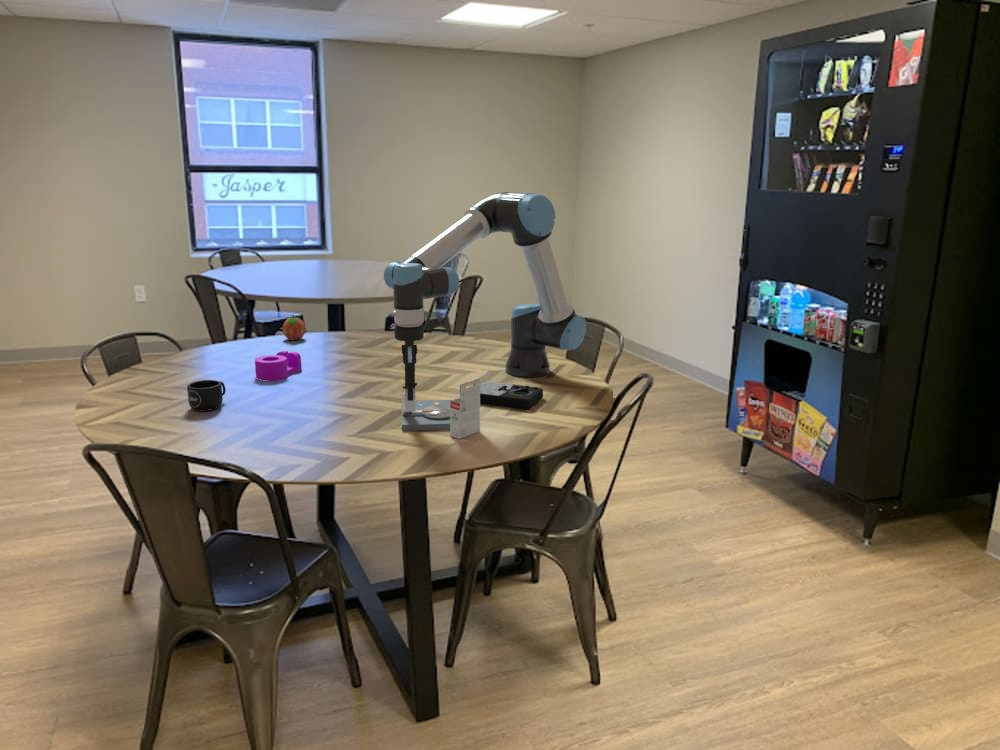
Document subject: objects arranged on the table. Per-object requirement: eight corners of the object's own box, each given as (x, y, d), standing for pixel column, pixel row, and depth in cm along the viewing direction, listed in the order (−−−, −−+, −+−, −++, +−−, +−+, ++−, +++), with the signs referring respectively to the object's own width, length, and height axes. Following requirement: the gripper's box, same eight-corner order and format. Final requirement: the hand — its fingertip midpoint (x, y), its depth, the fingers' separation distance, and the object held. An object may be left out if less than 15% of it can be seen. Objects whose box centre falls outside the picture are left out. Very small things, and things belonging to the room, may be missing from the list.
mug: (206, 415, 208) (204, 390, 206) (182, 410, 212) (179, 385, 210) (237, 403, 219) (235, 379, 217) (214, 399, 222) (212, 375, 220)
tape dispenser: (276, 382, 240) (275, 363, 238) (249, 379, 243) (248, 361, 241) (303, 370, 255) (302, 352, 253) (278, 367, 258) (276, 350, 256)
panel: (470, 404, 221) (470, 398, 221) (477, 428, 201) (477, 422, 201) (401, 406, 219) (401, 400, 218) (402, 430, 198) (402, 424, 198)
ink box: (449, 436, 195) (449, 382, 191) (470, 428, 201) (470, 376, 197) (459, 439, 193) (459, 385, 189) (480, 432, 199) (481, 378, 195)
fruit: (279, 341, 294) (277, 316, 291) (289, 336, 303) (288, 311, 301) (300, 342, 293) (298, 317, 290) (310, 337, 302) (308, 312, 299)
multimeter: (529, 412, 216) (529, 395, 215) (467, 404, 223) (467, 387, 222) (543, 399, 228) (543, 383, 227) (484, 392, 235) (484, 376, 234)
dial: (453, 408, 212) (453, 387, 210) (456, 419, 203) (456, 397, 202) (401, 410, 210) (401, 388, 208) (402, 420, 201) (401, 398, 200)
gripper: (394, 319, 201) (396, 403, 207) (394, 329, 188) (396, 419, 194) (422, 318, 202) (423, 403, 208) (424, 329, 189) (425, 418, 195)
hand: (410, 410), depth 201 cm, fingers closed
